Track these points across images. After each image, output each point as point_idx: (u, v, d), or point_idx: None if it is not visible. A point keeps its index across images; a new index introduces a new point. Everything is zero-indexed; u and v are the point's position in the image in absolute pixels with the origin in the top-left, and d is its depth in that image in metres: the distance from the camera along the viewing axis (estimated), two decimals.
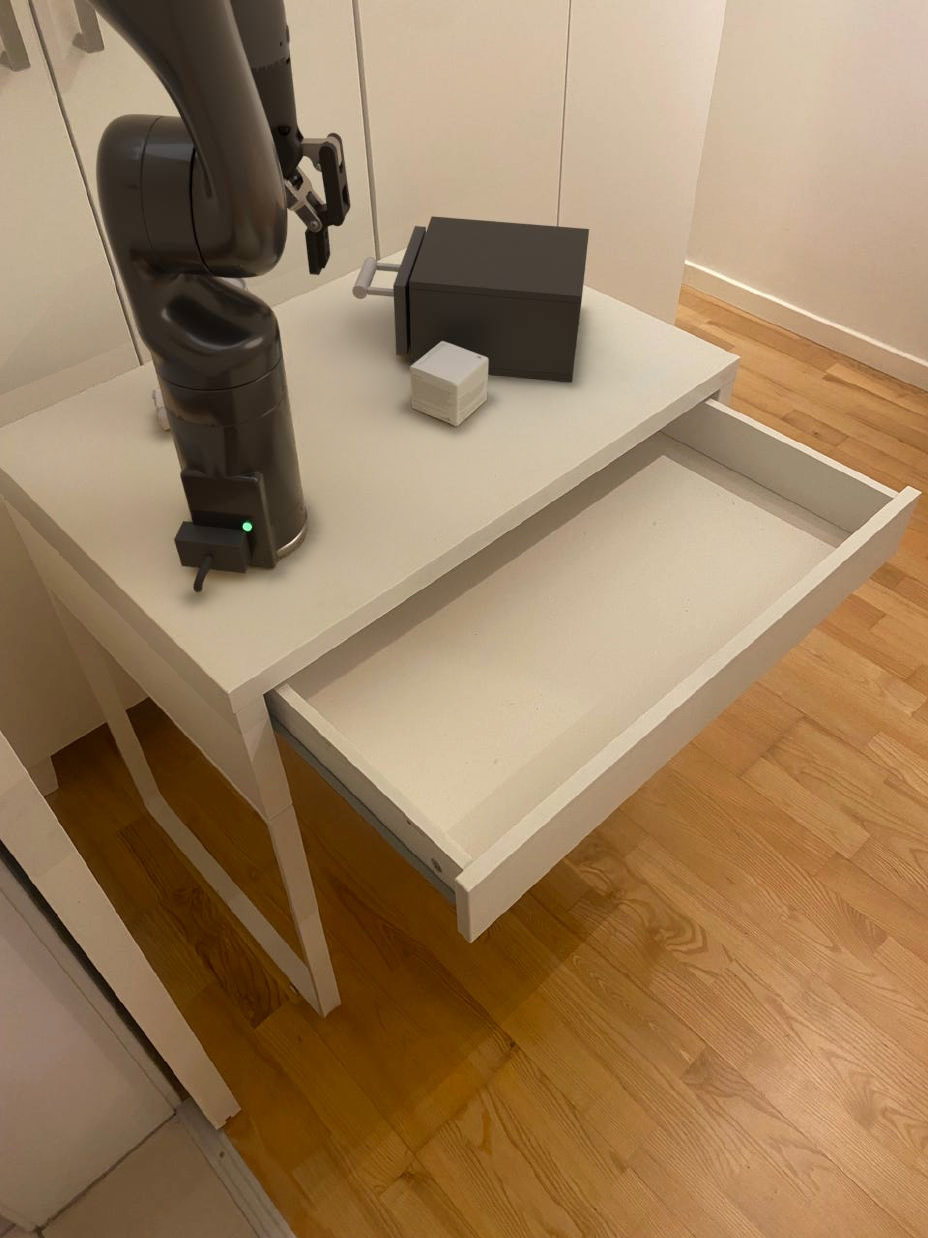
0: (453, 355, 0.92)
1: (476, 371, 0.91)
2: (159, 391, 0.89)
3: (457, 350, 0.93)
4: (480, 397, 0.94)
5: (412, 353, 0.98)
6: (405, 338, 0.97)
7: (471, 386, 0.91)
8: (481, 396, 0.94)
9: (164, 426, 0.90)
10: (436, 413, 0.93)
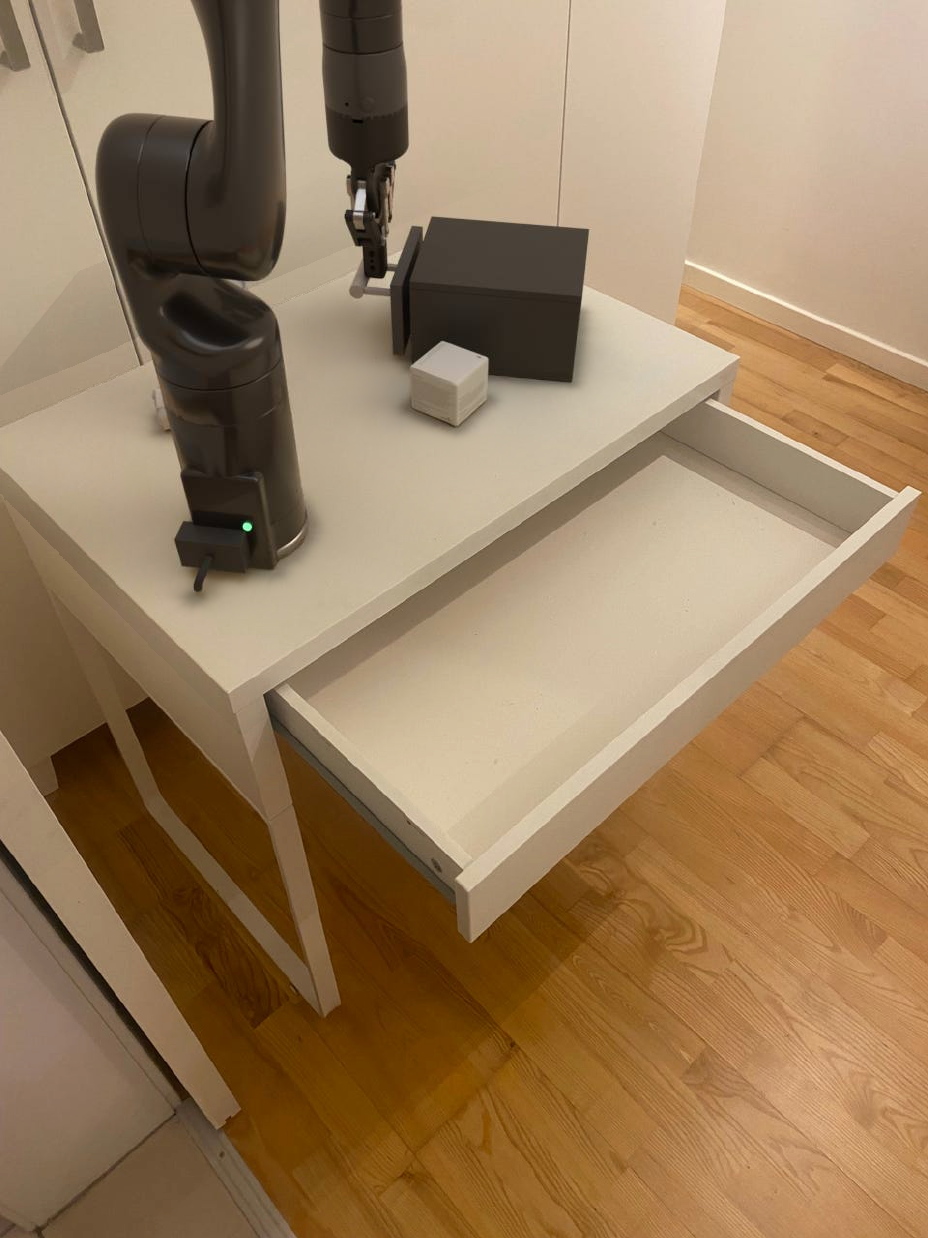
0: (453, 355, 0.92)
1: (476, 371, 0.91)
2: (159, 391, 0.89)
3: (457, 350, 0.93)
4: (480, 397, 0.94)
5: (412, 353, 0.98)
6: (402, 338, 0.97)
7: (471, 386, 0.91)
8: (481, 396, 0.94)
9: (164, 426, 0.90)
10: (436, 413, 0.93)
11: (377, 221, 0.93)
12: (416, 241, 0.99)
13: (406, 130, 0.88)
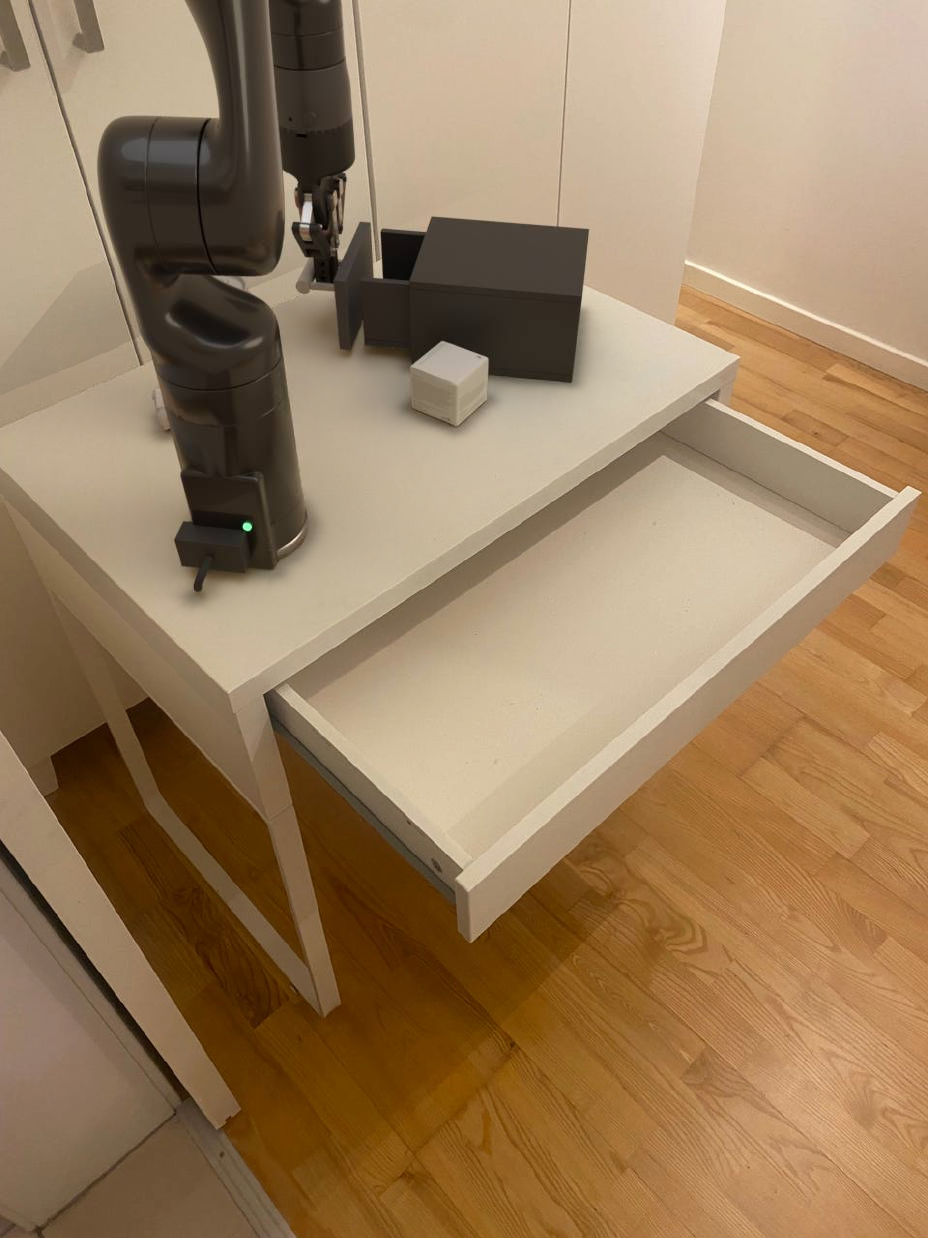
0: (453, 355, 0.92)
1: (476, 371, 0.91)
2: (159, 391, 0.89)
3: (457, 350, 0.93)
4: (480, 397, 0.94)
5: (412, 353, 0.98)
6: (348, 333, 0.98)
7: (471, 386, 0.91)
8: (481, 396, 0.94)
9: (164, 426, 0.90)
10: (436, 413, 0.93)
11: (326, 233, 0.95)
12: (363, 237, 0.99)
13: (352, 144, 0.89)
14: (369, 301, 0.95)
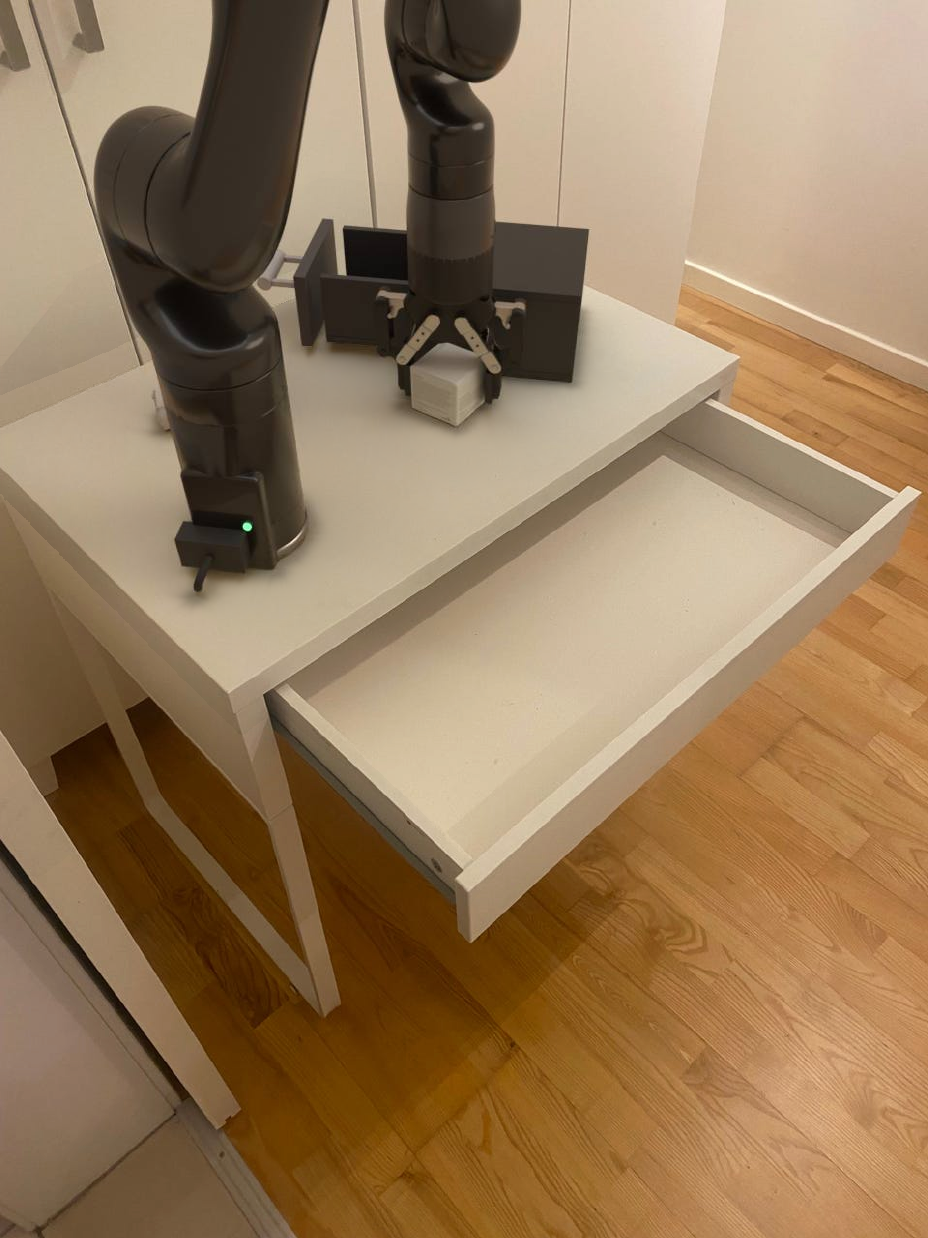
0: (453, 355, 0.92)
1: (476, 371, 0.91)
2: (159, 391, 0.89)
3: (457, 350, 0.93)
4: (480, 397, 0.94)
5: None
6: (309, 329, 0.98)
7: (471, 386, 0.91)
8: (481, 396, 0.94)
9: (164, 426, 0.90)
10: (436, 413, 0.93)
11: (490, 334, 0.89)
12: (325, 233, 1.00)
13: None
14: (329, 298, 0.96)
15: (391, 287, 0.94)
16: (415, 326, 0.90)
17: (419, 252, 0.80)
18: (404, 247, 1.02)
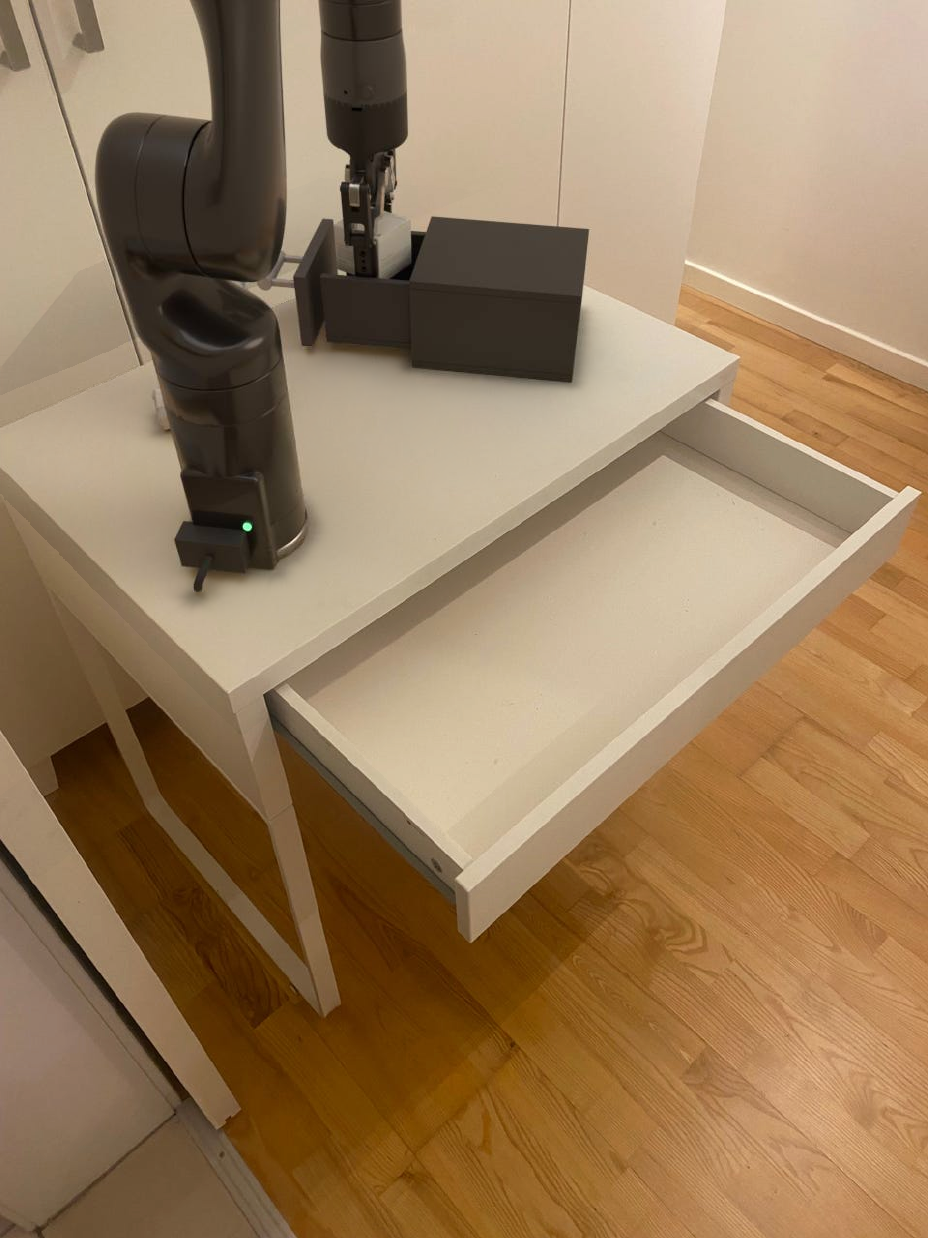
0: (382, 223, 0.95)
1: None
2: (159, 391, 0.89)
3: (391, 225, 0.95)
4: None
5: (412, 353, 0.98)
6: (309, 329, 0.98)
7: None
8: None
9: (164, 426, 0.90)
10: None
11: (371, 212, 0.90)
12: (325, 233, 1.00)
13: (406, 119, 0.87)
14: (329, 298, 0.96)
15: (391, 287, 0.94)
16: None
17: None
18: None
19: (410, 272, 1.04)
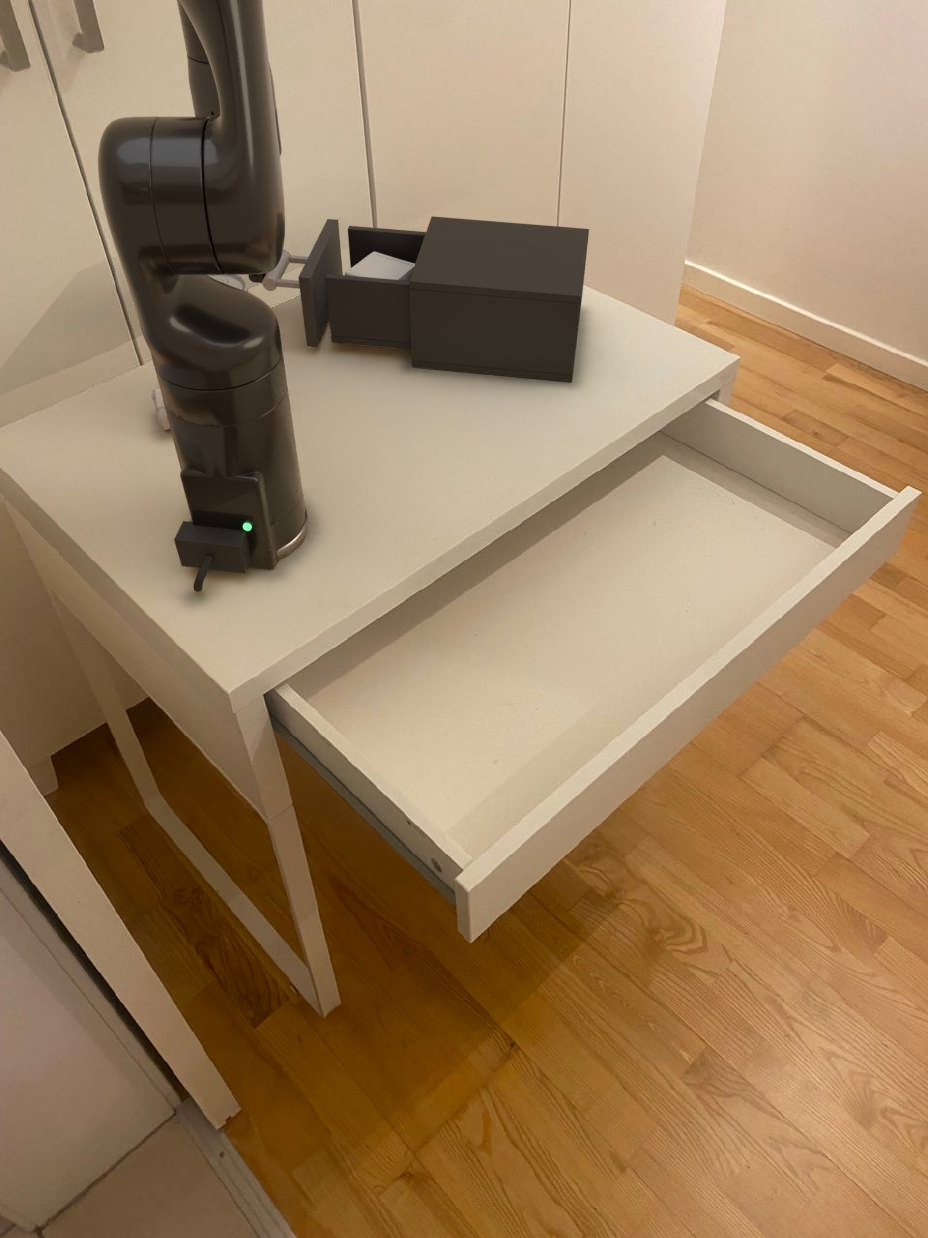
0: (391, 269, 0.99)
1: None
2: (159, 391, 0.89)
3: (400, 271, 0.98)
4: None
5: (412, 353, 0.98)
6: (314, 330, 0.98)
7: None
8: None
9: (164, 426, 0.90)
10: None
11: None
12: (330, 234, 1.00)
13: (277, 138, 0.90)
14: (334, 298, 0.96)
15: (396, 287, 0.94)
16: None
17: None
18: (409, 247, 1.02)
19: None
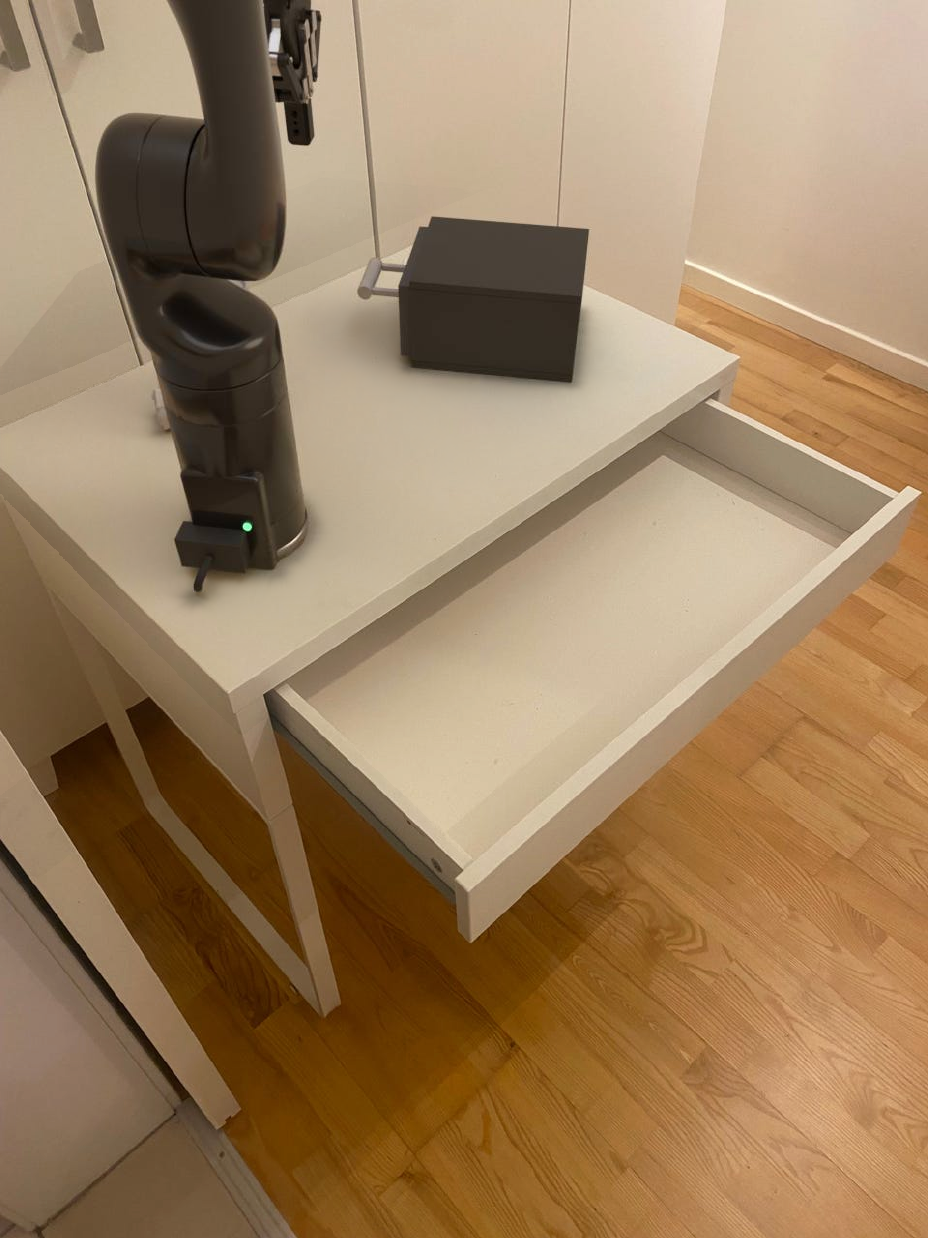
0: None
1: None
2: (159, 391, 0.89)
3: None
4: None
5: (412, 353, 0.98)
6: (410, 338, 0.97)
7: None
8: None
9: (164, 426, 0.90)
10: None
11: (298, 73, 0.84)
12: None
13: None
14: None
15: None
16: None
17: None
18: None
19: None
